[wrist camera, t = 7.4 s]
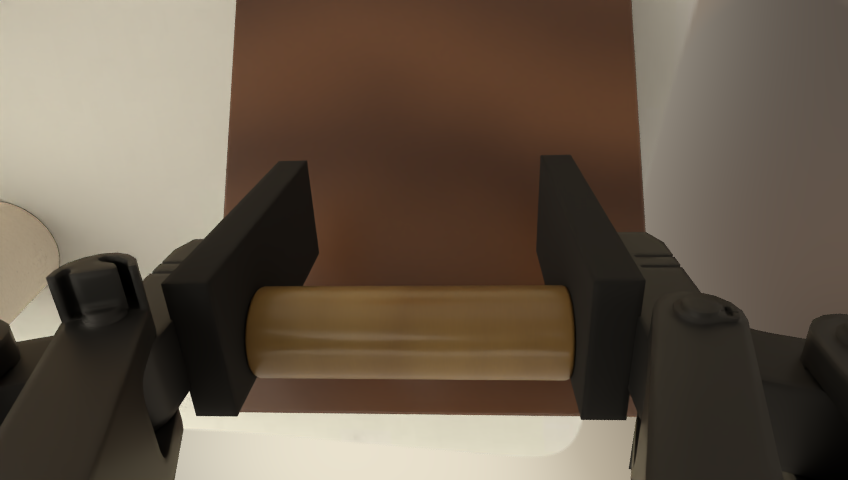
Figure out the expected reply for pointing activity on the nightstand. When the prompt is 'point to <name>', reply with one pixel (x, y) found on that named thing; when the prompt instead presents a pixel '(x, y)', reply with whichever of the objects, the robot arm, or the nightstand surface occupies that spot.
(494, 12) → the lid
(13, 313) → the dixie cup
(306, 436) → the nightstand surface
